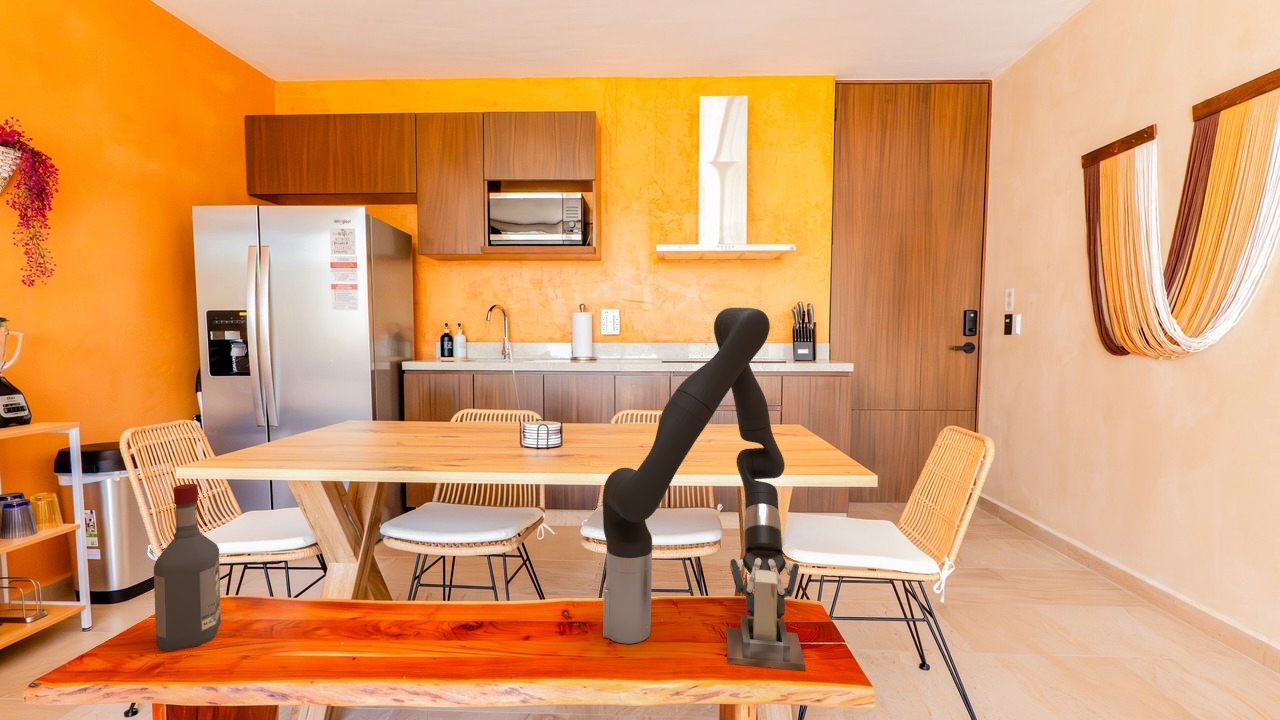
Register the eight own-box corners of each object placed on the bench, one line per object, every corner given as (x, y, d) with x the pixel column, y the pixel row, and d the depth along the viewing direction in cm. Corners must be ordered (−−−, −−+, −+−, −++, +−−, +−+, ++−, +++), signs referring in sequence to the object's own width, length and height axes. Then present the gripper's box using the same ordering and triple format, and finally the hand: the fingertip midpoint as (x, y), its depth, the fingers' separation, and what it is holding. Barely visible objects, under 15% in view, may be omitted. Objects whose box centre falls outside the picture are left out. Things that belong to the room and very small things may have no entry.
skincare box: (776, 647, 109) (778, 584, 108) (752, 645, 109) (754, 582, 109) (775, 630, 115) (777, 570, 114) (753, 627, 116) (754, 568, 115)
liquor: (153, 655, 107) (148, 495, 105) (166, 632, 115) (162, 482, 113) (214, 643, 111) (210, 489, 109) (222, 621, 119) (219, 478, 117)
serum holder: (727, 663, 108) (728, 641, 107) (726, 632, 118) (727, 612, 118) (805, 670, 106) (806, 648, 106) (796, 638, 117) (797, 618, 116)
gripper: (728, 521, 119) (728, 606, 108) (800, 525, 117) (807, 612, 106) (727, 537, 125) (727, 619, 114) (795, 541, 123) (802, 625, 112)
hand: (765, 615), depth 110 cm, fingers closed on skincare box, 4 cm apart
